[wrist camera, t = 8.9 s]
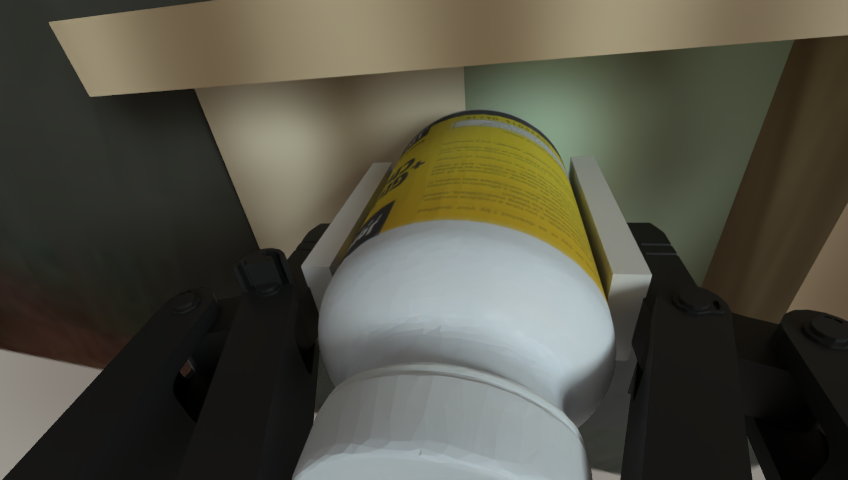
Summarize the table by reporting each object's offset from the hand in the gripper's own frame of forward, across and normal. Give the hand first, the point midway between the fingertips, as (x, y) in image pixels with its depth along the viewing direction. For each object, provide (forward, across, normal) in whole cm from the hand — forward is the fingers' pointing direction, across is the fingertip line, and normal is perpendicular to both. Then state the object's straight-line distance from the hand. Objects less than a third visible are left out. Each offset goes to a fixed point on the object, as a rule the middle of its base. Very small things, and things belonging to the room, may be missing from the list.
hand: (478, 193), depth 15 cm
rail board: (+2, 0, 0) cm, 2 cm away
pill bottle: (+1, 0, 0) cm, 1 cm away
